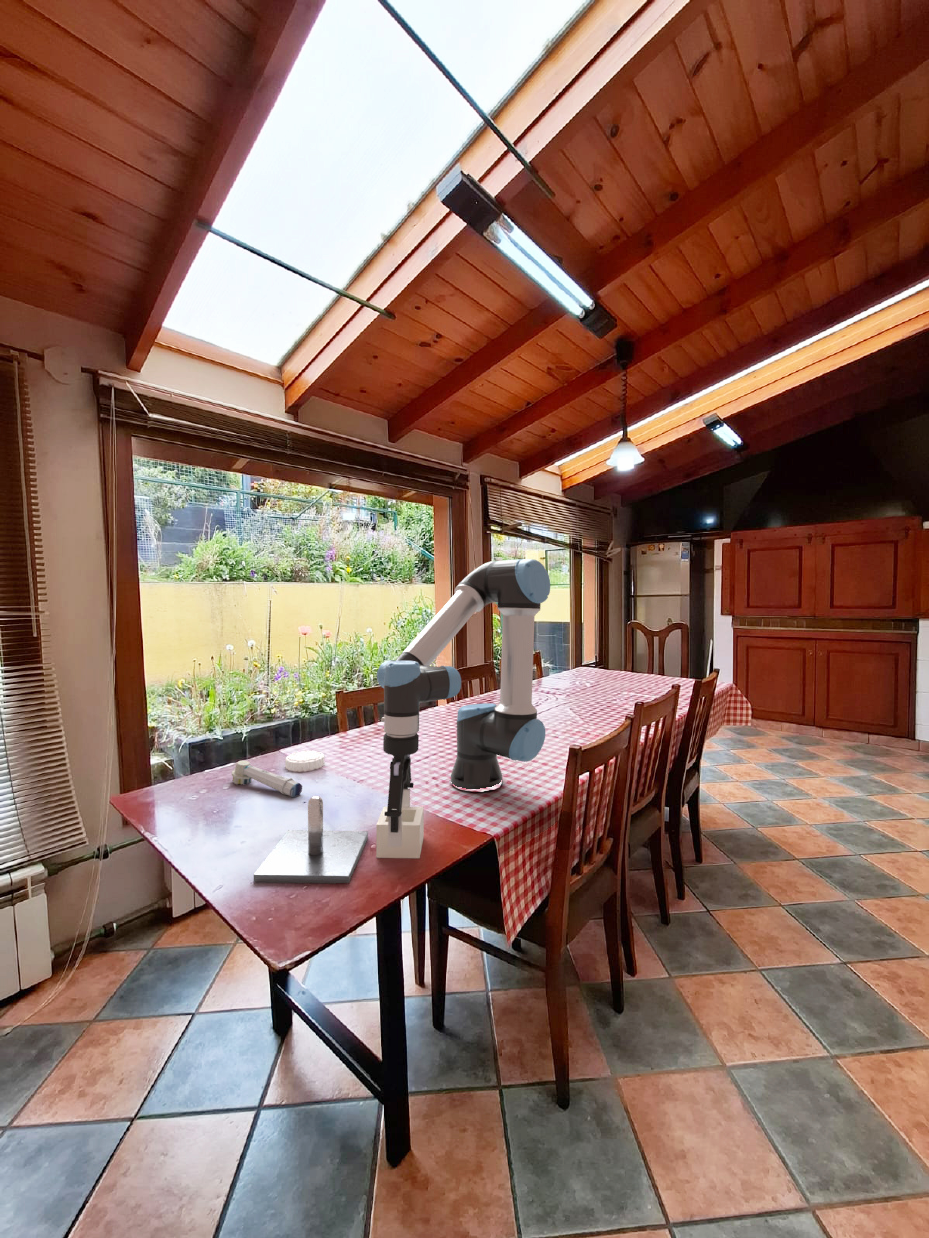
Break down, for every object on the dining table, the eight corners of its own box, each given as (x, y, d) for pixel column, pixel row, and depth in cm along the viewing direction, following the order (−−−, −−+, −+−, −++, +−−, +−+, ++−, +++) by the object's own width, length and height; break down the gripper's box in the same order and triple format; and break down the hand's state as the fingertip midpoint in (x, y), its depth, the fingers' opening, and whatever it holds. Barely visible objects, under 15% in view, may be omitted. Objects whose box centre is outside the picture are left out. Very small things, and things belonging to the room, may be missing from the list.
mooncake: (332, 764, 162) (332, 753, 162) (301, 775, 152) (301, 763, 152) (308, 757, 169) (308, 747, 168) (277, 767, 159) (277, 756, 159)
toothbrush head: (290, 786, 133) (228, 758, 144) (287, 810, 133) (226, 780, 145) (305, 780, 137) (244, 753, 149) (302, 802, 138) (242, 775, 149)
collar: (423, 837, 112) (423, 806, 112) (419, 858, 103) (419, 825, 103) (383, 836, 113) (383, 806, 112) (376, 857, 104) (376, 824, 103)
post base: (367, 837, 112) (367, 780, 112) (348, 883, 94) (348, 815, 94) (288, 836, 112) (287, 780, 112) (253, 882, 94) (253, 814, 94)
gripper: (392, 719, 119) (391, 806, 120) (372, 749, 95) (370, 859, 95) (423, 720, 119) (422, 807, 120) (412, 750, 94) (410, 860, 95)
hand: (399, 830), depth 108 cm, fingers open, 13 cm apart
